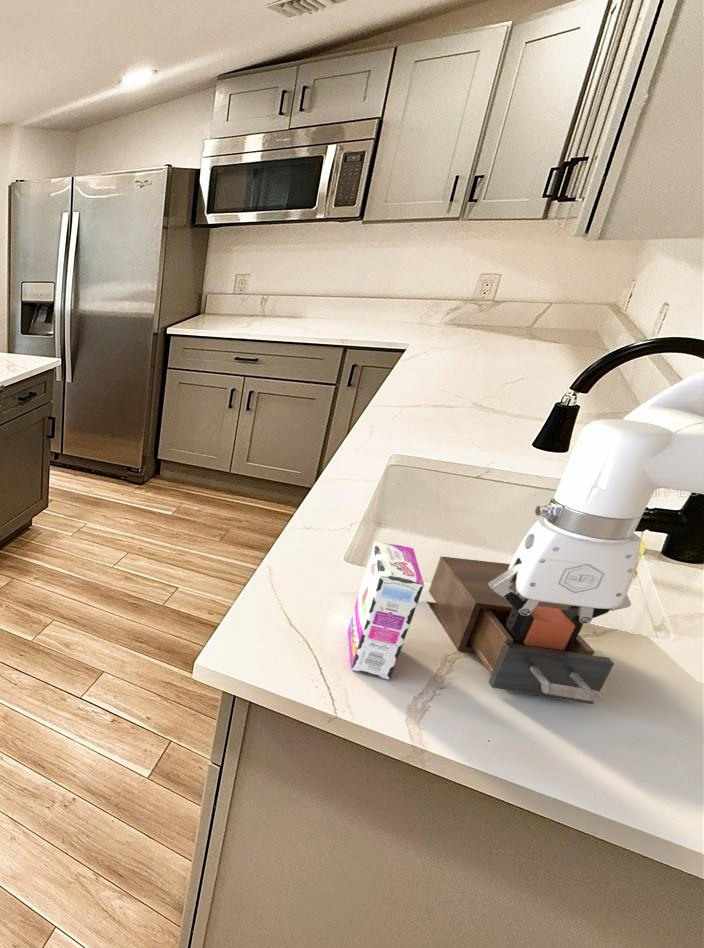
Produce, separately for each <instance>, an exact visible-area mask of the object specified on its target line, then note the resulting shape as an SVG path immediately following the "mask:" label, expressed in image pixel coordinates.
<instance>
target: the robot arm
mask: <svg viewBox="0 0 704 948" xmlns="http://www.w3.org/2000/svg"><path fill="white" fill-rule="evenodd" d="M658 489H667V490H673V491H679V492H680V491H681V492H687V493H693V494H701V495H704V370H703V371H701V372H700V371H699V372H698V373H696V374H692V375H691V376H689V377H687V378H684V379H683V380H681V381H679V382H677V383H675V384H674V385H671V387H668V388H666V389H665V390H664V391H663V390H662V391H661V392H660V393H658V394H656V395H655V396H653V397H651V398H650V399H649V400H647V401H646V402H644V403H642V404H640V405H639V406H638V407H636V408H635V409H634V410H632V411H631V412H629V413H628V414H627V415H625V417H623V419H622V418H604V419H597V420H593V421H592V422H590V423H588V424H586V425H585V426H584V427H583V428H582V430H581V432H580V433H579V436H578V438H577V441H576V443H575V446H574V448H573V451H572V452H571V455H570V458H569V460H568V462H567V465H566V467H565V469H564V472H563V474H562V476H561V480H560V482H559V484H558V486H557V489H556V492H555V494H554V496H553V498H551V499H550V501H549V504H548V505H547V504H546V505H537V506H536V507H535V509H534V514H535V516H536V517H543V518H538V519H537V521H536V522H535V523H534V524H533V526H532V527H531V528H530V529H529V530H528V532H527V533H526V535H525V536H524V538H523V539H522V541H521V543H520V544H519V546H518V547H517V550H516V552H515V554H514V556H513V558H512V559H511V562H510V563H509V564H510V566H509V569H508V570H507V571H506V572H504V573H503V574H501V575H500V576H498V577H496V578H495V579H493V580H492V581H490V582H489V583H488V585H489V586H490V587H491V589H492V590H493V591H494V592H496V593H497V594H499V595H500V596H502V597H504V598H505V599H507V600H508V601H509V603H510V604H511V605H512V606H513V608H512V611H511V613H510V615H509V618H508V620H507V623H506V626H507V628H508V630H509V631H510V632H511V633H512V635H513V636H514V637H515V638H516V640H518V641H523V640H525V637H526V635H527V633H528V630H529V628H530V626H531V624H532V621H533V617H532V616H531V615H530V614H531V613H532V611H533V610H534V609H535V607H536V606H537V605H538V604H539V602H540V601H542V602H549V603H557V604H564V605H568V610H562V612H563V613H564V614H565V616H566V617H567V618H568V619H569V620H570V621H571V622H572V623H573V624H574V625H575V628H574V630H573V632H572V634H571V636H570V638H569V641H568V643H567V645H566V647H567V648H569V647H570V646H571V644H572V642H573V640H575V639H576V638H577V636H578V634H579V635H580V632H581V630H582V628H583V625H588V624H590V623H591V622H592V620H593V619H596V618H597V617H601V616H603V615H606V614H608V613H609V612H610V611H612V612H613V611H617V610H623V609H627V608H629V607H630V606H631V605H632V602H631V600H630V598H629V596H628V592H629V589H630V587H631V584H632V582H633V578H634V576H635V573H636V569H637V565H638V563H639V556H640V550H641V542H642V541H641V537H640V536H638V535H637V534H636V533H635V531H636V529H637V528H638V525H639V524H640V521H641V519H642V517H643V515H644V513H645V511H646V509H647V508H648V505H649V503H650V500H651V499H652V497H653V494H654V492H655V491H656V490H658ZM513 584H516V590H517V591H516V593H515V592H514V591H513V590H512V589H510V588H509V587H510V586H511V585H513Z"/></svg>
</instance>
